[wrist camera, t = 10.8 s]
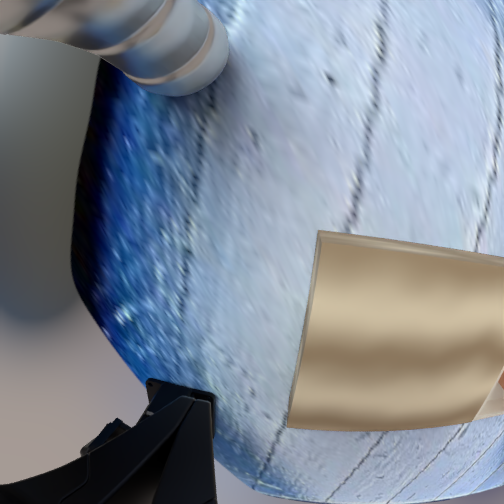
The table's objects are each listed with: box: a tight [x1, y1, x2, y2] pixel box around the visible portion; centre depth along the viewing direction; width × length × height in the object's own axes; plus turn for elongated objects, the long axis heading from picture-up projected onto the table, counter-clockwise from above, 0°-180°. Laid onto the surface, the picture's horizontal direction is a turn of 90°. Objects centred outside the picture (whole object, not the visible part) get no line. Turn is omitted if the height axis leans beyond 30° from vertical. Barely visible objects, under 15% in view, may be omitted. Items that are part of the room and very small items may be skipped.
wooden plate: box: [287, 230, 504, 431], centre depth 18 cm, size 14×17×4 cm
